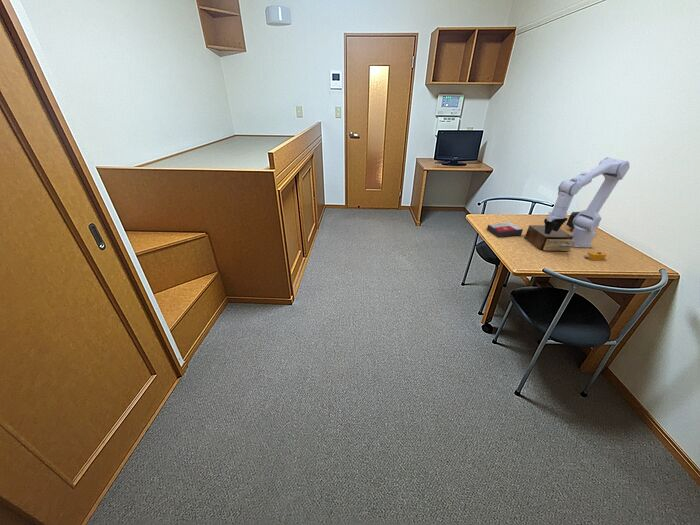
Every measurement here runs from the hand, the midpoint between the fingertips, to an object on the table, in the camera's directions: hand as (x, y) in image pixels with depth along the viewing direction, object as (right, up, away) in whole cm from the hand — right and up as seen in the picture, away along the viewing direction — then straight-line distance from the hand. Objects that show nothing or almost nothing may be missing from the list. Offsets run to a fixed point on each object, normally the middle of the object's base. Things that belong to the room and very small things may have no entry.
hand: (550, 232), depth 146 cm
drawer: (+5, -7, +6) cm, 10 cm away
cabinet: (+4, -5, +11) cm, 13 cm away
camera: (+36, +4, +28) cm, 46 cm away
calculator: (-12, +2, +22) cm, 25 cm away
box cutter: (+19, -13, -3) cm, 24 cm away
